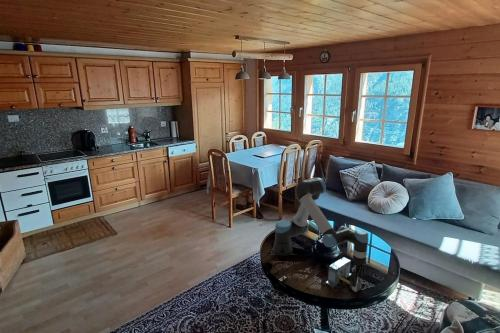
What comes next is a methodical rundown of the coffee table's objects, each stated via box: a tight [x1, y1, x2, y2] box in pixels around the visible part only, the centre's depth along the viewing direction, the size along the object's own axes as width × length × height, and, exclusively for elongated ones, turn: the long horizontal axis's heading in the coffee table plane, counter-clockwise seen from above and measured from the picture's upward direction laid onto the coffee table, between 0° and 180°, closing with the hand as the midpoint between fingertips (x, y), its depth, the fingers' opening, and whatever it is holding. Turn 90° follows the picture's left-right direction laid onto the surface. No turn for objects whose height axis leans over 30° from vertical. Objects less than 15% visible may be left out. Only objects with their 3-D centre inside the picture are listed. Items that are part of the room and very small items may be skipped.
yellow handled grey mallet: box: [339, 276, 362, 292], centre depth 183 cm, size 19×4×6 cm, turn 38°
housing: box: [325, 256, 352, 288], centre depth 187 cm, size 6×20×12 cm, turn 128°
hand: (356, 288), depth 178 cm, fingers closed on yellow handled grey mallet, 4 cm apart
